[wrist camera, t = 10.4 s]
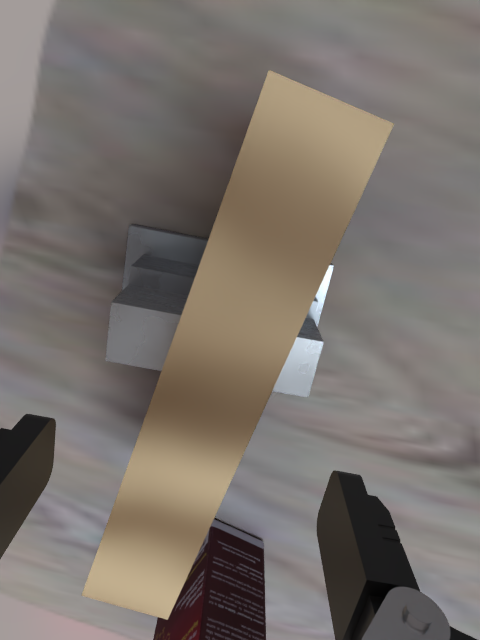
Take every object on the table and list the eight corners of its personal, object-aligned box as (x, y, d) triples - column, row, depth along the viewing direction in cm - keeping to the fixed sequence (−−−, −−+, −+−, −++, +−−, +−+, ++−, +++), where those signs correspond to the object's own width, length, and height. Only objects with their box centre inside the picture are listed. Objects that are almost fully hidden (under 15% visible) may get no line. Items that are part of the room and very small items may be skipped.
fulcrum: (132, 223, 26) (94, 244, 20) (331, 262, 27) (359, 295, 20) (118, 347, 29) (80, 402, 22) (299, 380, 29) (315, 443, 23)
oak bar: (262, 94, 18) (268, 70, 13) (355, 133, 18) (394, 123, 13) (113, 512, 24) (81, 595, 20) (182, 533, 25) (167, 619, 20)
